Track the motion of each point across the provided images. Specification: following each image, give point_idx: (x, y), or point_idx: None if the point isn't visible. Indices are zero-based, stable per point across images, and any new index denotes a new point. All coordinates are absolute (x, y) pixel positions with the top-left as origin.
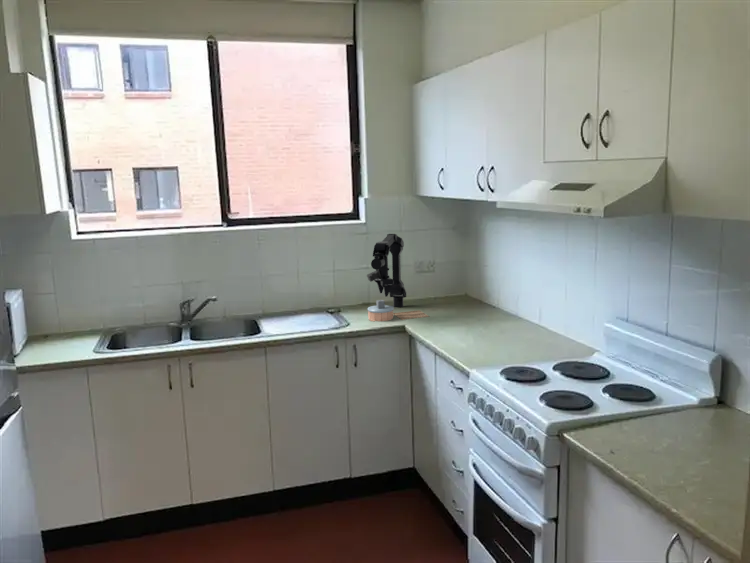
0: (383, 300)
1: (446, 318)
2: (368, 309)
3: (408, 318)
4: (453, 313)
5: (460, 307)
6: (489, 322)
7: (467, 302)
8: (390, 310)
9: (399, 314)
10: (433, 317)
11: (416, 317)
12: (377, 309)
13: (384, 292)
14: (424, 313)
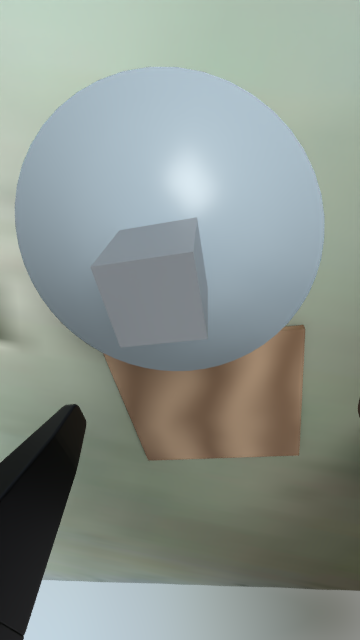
0: (155, 341)
1: (127, 489)
2: (109, 77)
3: (125, 383)
4: (203, 518)
5: (288, 547)
6: (59, 542)
7: (353, 572)
8: (77, 329)
9: (243, 362)
10: (154, 464)
11: (141, 417)
12: (96, 214)
13: (24, 460)
14: (217, 457)
